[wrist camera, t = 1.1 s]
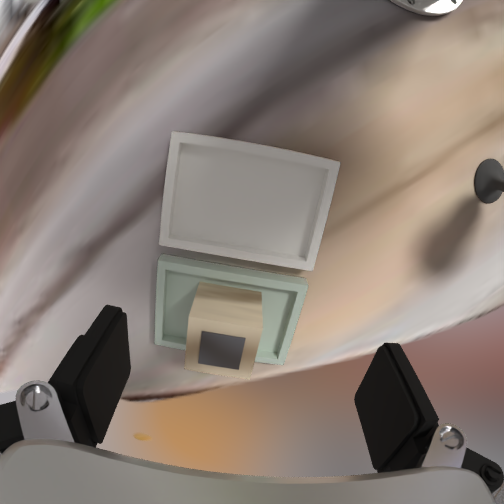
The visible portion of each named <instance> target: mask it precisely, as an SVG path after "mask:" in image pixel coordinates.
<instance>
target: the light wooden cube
mask: <svg viewBox="0 0 504 504" xmlns="http://www.w3.org/2000/svg"><path fill="white" fill-rule="evenodd" d="M262 330H263V316H262V292H259V291H253V290H247V289H241V288H235V287H229V286H223V285H217V284H211V283H206V282H199V285H198V288H197V292H196V295H195V298H194V301H193V304H192V307H191V311H190V314H189V319H188V330H187V341H186V353H185V365H184V369H186V370H191V371H197V372H202V373H208V374H214V375H221V376H227V377H234V378H241V379H248V380H250V377H251V373H252V369H253V365H254V362H255V358H256V354H257V350H258V346H259V342H260V338H261V334H262Z"/></svg>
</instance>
